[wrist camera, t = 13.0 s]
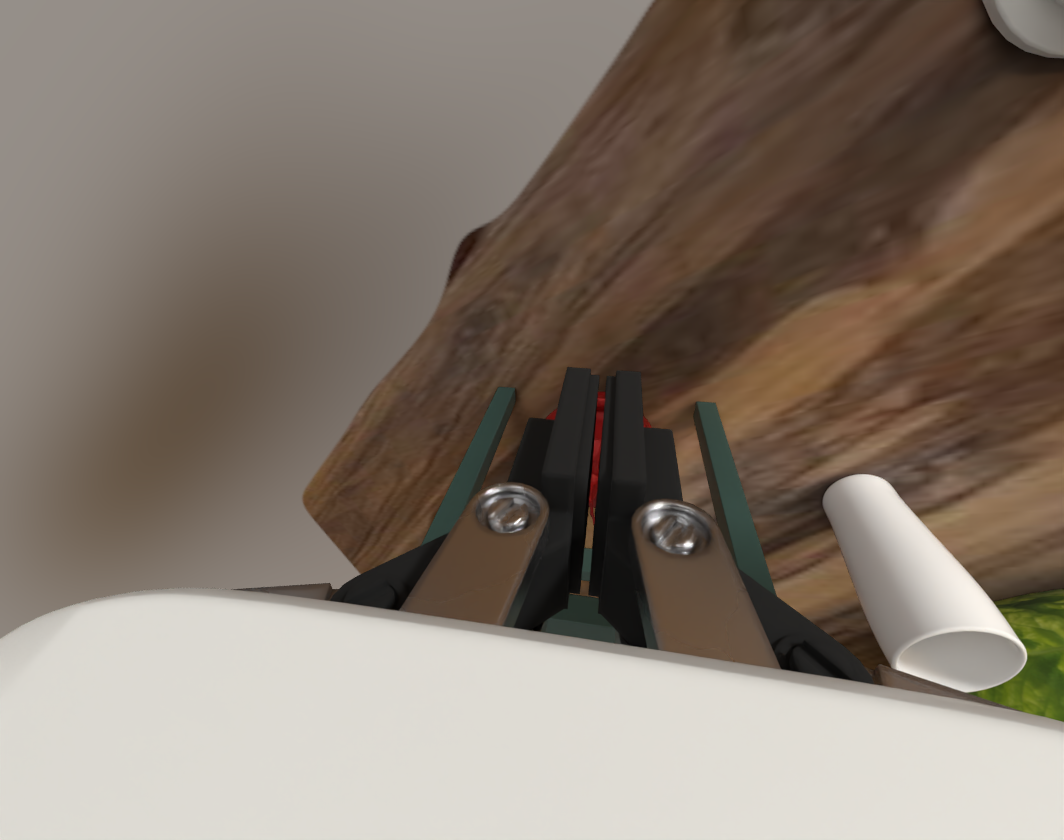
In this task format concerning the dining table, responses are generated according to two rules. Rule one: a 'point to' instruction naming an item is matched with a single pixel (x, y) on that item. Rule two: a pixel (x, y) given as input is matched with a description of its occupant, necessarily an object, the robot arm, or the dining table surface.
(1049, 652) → the lettuce
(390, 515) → the dining table surface
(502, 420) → the bench
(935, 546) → the white paper cup
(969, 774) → the robot arm
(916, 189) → the dining table surface
